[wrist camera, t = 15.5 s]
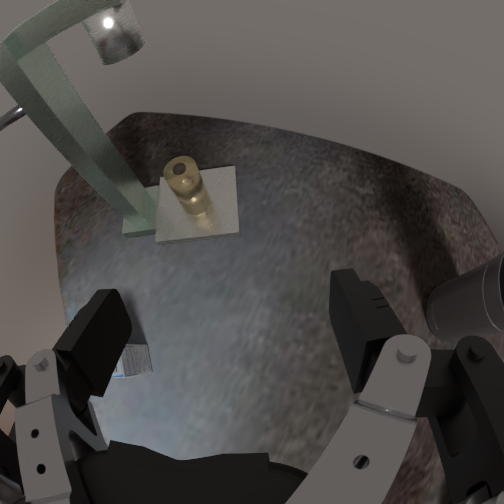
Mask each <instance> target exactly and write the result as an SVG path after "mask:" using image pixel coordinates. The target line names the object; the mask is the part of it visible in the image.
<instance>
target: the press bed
mask: <svg viewBox="0 0 504 504" xmlns="http://www.w3.org/2000/svg"><path fill="white" fill-rule="evenodd" d="M80 22H82V24H83V26H84V29H85V31H86V33H87V35H88V36H89V39H90V41H91V43H92V45H93V47H94V48H95V51H96V52H97V54H98V56H99V58H100V60H101V62H102V64H104V65H109V64H114V63H116V62H119V61H122V60H124V59H126V58H128V57H129V56H131V55H133V54H134V53H136V52H137V51H139V50H140V49H141V48H142V46H144V44H145V42H144V39H143V36H142V34H141V31H140V28H139V26H138V23H137V21H136V18H135V15H134V12H133V10H132V7H131V4H130V2H129V0H56V1H54V2H52V3H51V4H49V5H48V6H46V7H44V8H43V9H41V10H40V11H38V12H37V13H36V14H34V15H33V16H31V17H29V18H28V19H26V20H25V21H24V22H23V23H21V24H20V25H18V26H17V27H16V28H15V29H13V30H12V31H11V32H10V33H9V34H8V35H6V36H5V37H4V38H3V39H2V40H1V41H0V82H1V83H2V85H3V86H4V87H5V89H6V90H7V91H8V93H9V94H10V95H11V96H12V97H13V99H14V100H15V101H16V102H17V104H18V105H17V106H16V107H14V108H13V109H12V110H10V111H9V112H7V113H6V114H4V115H3V116H2V117H0V131H1V130H3V129H4V128H6V127H7V126H9V125H10V124H12V123H13V122H15V121H16V120H18V119H19V118H21V117H23V116H24V115H27V116H28V117H29V118H30V119H31V121H32V122H33V123H34V124H35V125H36V126H37V128H39V130H40V131H41V132H42V133H43V134H44V136H45V137H46V138H47V139H48V140H49V141H50V142H51V143H52V144H53V145H54V147H55V148H56V149H57V150H58V151H59V152H60V153H61V154H62V155H63V156H64V158H65V159H66V160H67V161H68V162H69V163H70V164H71V165H72V166H73V167H74V168H75V169H76V170H77V171H78V172H79V173H80V174H81V175H82V176H83V178H84V179H85V180H86V181H87V182H88V183H89V184H90V185H91V186H92V187H93V188H94V189H95V190H96V191H97V192H98V193H99V194H100V195H101V196H102V197H103V198H104V199H105V200H106V201H107V202H108V203H109V204H110V205H111V206H112V207H113V208H114V209H116V210H117V211H118V212H119V213H120V214H121V215H122V216H123V217H124V219H123V228H122V234H123V235H124V236H125V237H127V238H132V237H139V236H146V235H154V234H156V239H155V242H156V243H157V244H158V245H166V244H175V243H183V242H192V241H201V240H210V239H219V238H228V237H237V236H241V235H240V221H239V207H238V193H237V178H236V168H235V166H229V167H221V168H214V169H207V170H200V171H199V172H200V175H201V177H202V180H203V182H204V184H205V187H206V189H207V192H208V194H209V196H210V205H209V207H208V209H207V210H206V211H205V212H204V213H202V214H199V215H190V214H188V213H186V212H185V211H184V209H183V207H182V206H181V204H180V203H179V201H178V199H177V198H176V196H175V195H174V193H173V191H172V190H171V188H170V187H169V185H168V183H167V182H166V180H165V178H164V177H160V185H159V186H158V185H157V186H152V187H147V188H144V187H143V185H142V184H141V183H140V181H139V180H138V178H137V177H136V176H135V174H134V173H133V172H132V170H131V169H130V168H129V166H128V165H127V163H126V162H125V161H124V159H123V158H122V157H121V155H120V154H119V152H118V151H117V150H116V148H115V147H114V145H113V144H112V143H111V141H110V140H109V138H108V137H107V135H106V134H105V133H104V132H103V130H102V128H101V127H100V125H99V124H98V122H97V121H96V120H95V118H94V117H93V115H92V114H91V112H90V111H89V109H88V108H87V106H86V105H85V103H84V102H83V100H82V99H81V97H80V96H79V94H78V93H77V91H76V89H75V88H74V87H73V85H72V83H71V82H70V80H69V79H68V77H67V75H66V74H65V72H64V71H63V69H62V67H61V66H60V64H59V63H58V61H57V59H56V58H55V56H54V54H53V53H52V51H51V49H50V48H49V46H48V44H47V43H46V41H48V40H49V39H51V38H53V37H54V36H56V35H58V34H59V33H61V32H63V31H65V30H67V29H68V28H70V27H72V26H74V25H76V24H78V23H80Z"/></svg>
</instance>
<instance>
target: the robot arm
mask: <svg viewBox="0 0 504 504" xmlns="http://www.w3.org/2000/svg"><path fill="white" fill-rule="evenodd" d="M329 315H330V321H331V325H332V328H333V330H334V333H335V336H336V339H337V342H338V346H339V349H340V352H341V355H342V358H343V361H344V364H345V367H346V370H347V374H348V377H349V380H350V383H351V387H352V390H353V393H359V392H362V393H361V395H360V397H359V399H358V400H357V401H355V402H354V403H353V405H352V407H351V408H350V410H349V412H348V413H347V415H346V417H345V419H344V420H343V422H342V424H341V425H340V427H339V429H338V430H337V432H336V434H335V435H334V437H333V439H332V440H331V442H330V443H329V445H328V446H327V448H326V449H325V451H324V452H323V454H322V455H321V457H320V458H319V460H318V461H317V463H316V464H315V465H314V467H313V468H312V470H311V471H310V472H309V474H308V473H306V472H304V471H302V470H300V469H297V468H294V467H292V466H289V465H285V464H281V463H275V462H270V460H269V455H268V453H247V454H220V455H215V456H209V457H203V458H197V459H190V460H176V459H173V458H171V457H168V456H165V455H163V454H160V453H158V452H155V451H153V450H150V449H148V448H145V447H143V446H137V445H132V444H127V443H122V442H117V441H112V440H110V443H109V447H108V446H107V444H106V443H105V441H104V438H103V435H102V433H101V430H100V427H99V424H98V421H97V418H96V415H95V412H94V408H93V405H92V403H91V402H90V401H89V398H90V395H93V396H98V397H103V395H104V393H105V391H106V388H107V386H108V384H109V381H110V379H111V377H112V374H113V372H114V370H115V368H116V365H117V363H118V361H119V359H120V357H121V354H122V352H123V350H124V348H125V346H126V344H127V342H128V339H129V337H130V335H131V331H132V325H131V321H130V318H129V316H128V313H127V311H126V309H125V306H124V304H123V301H122V299H121V296H120V294H119V292H118V291H117V290H116V289H100V290H97V291H96V293H95V294H94V295H93V297H92V298H91V299H90V301H89V302H88V303H87V304H86V305H85V306H84V307H83V308H81V309H80V310H79V312H78V313H77V314H76V316H75V317H74V320H72V321H71V323H70V324H69V327H67V328H66V330H65V331H64V333H63V334H62V336H61V337H60V338H59V340H58V341H57V343H56V344H55V346H54V347H53V349H52V350H50V349H44V350H41V351H38V352H37V353H35V354H34V355H33V356H32V357H31V358H30V359H29V361H28V362H27V364H26V365H22V366H17V364H16V363H15V361H14V360H13V359H12V357H11V356H9V355H5V356H2V357H0V414H1V412H2V409H3V407H4V405H5V403H6V401H7V399H8V400H9V401H10V402H11V403H12V404H13V405H14V406H15V407H16V409H15V422H14V424H13V426H12V429H11V431H10V434H9V436H7V435H6V434H5V433H4V432H3V431H2V430H1V429H0V504H381V503H382V501H383V499H384V498H385V496H386V494H387V492H388V490H389V488H390V486H391V484H392V482H393V480H394V478H395V476H396V474H397V472H398V470H399V467H400V465H401V463H402V461H403V458H404V456H405V454H406V451H407V449H408V446H409V444H410V441H411V438H412V436H413V433H414V430H415V427H416V423H417V419H415V417H428V420H429V423H430V426H431V429H432V432H433V435H434V438H435V442H436V445H437V448H438V452H439V455H440V458H441V462H442V466H443V469H444V473H445V477H446V481H447V485H448V490H449V494H450V499H451V504H504V363H503V362H502V360H501V359H500V357H499V356H498V354H497V352H496V351H495V349H494V348H493V346H492V345H491V344H490V343H489V342H488V341H487V340H485V339H484V338H482V337H479V336H485V335H491V334H497V333H502V332H504V252H503V253H501V254H500V255H498V256H496V257H494V258H493V259H491V260H489V261H487V262H485V263H483V264H482V265H480V266H478V267H476V268H474V269H472V270H470V271H468V272H466V273H464V274H462V275H460V276H458V277H456V278H454V279H451V280H449V281H447V282H445V283H443V284H441V285H439V286H437V287H436V288H435V289H434V290H433V291H432V292H431V294H430V296H429V298H428V301H427V305H426V319H427V323H428V326H429V328H430V330H431V331H432V333H433V334H434V335H435V336H436V337H438V338H439V339H442V340H455V339H460V340H459V342H458V343H457V346H456V348H455V350H433V349H430V348H429V346H428V345H427V344H426V343H425V342H424V341H423V340H422V339H420V338H418V337H416V336H413V335H408V334H407V333H406V331H405V329H404V328H403V326H402V324H401V323H400V321H399V319H398V318H397V316H396V314H395V313H394V311H393V310H392V308H391V307H390V306H389V303H388V302H387V300H386V299H385V298H384V296H383V294H382V292H381V291H380V289H379V288H378V287H377V286H375V285H374V284H372V283H371V282H369V281H360V279H359V277H358V276H357V274H356V273H355V271H354V269H352V268H351V269H343V270H334V271H332V272H331V278H330V299H329ZM24 493H25V496H24Z"/></svg>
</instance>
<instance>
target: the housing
mask: <svg viewBox="0 0 504 504" xmlns="http://www.w3.org/2000/svg"><path fill="white" fill-rule="evenodd" d="M163 175H164V178H165V180H166V182H167V183H168V185H169V187H170V188H171V190H172V191H173V193H174V195H175V196H176V198H177V199H178V201H179V203H180V204H181V206H182V207H183V209H184V211H185V212H186V213H188V214H190V215H199V214H202V213H204V212H205V211H206V210H207V209H208V207H209V205H210V196H209V194H208V192H207V189H206V187H205V184H204V182H203V180H202V177H201V175H200V172H199V170H198V167H197V165H196V162H195V161H194V159H192V158H191V157H188V156H179V157H176V158H174V159H172V160H171V161H170V162H169V163H168V164H167V165H166V166H165V168H164V172H163Z"/></svg>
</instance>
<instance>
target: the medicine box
mask: <svg viewBox="0 0 504 504" xmlns="http://www.w3.org/2000/svg"><path fill="white" fill-rule="evenodd" d="M149 373H152V368H151V363H150V358H149V352H148V346H147V345H145V344H126V346H125V348H124V350H123V352H122V354H121V357H120V359H119V361H118V363H117V365H116V368H115V370H114V372H113V374H112V377H111V378H130V377H135V376H140V375H145V374H149Z"/></svg>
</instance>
